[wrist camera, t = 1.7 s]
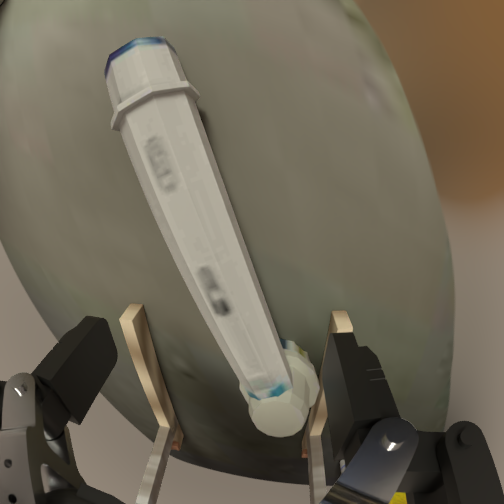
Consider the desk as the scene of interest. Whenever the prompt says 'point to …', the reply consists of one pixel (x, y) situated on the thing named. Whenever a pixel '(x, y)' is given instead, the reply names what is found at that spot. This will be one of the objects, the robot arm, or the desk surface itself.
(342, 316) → the tan holder stand
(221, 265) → the white electric toothbrush
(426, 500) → the robot arm
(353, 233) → the desk surface
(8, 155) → the desk surface
